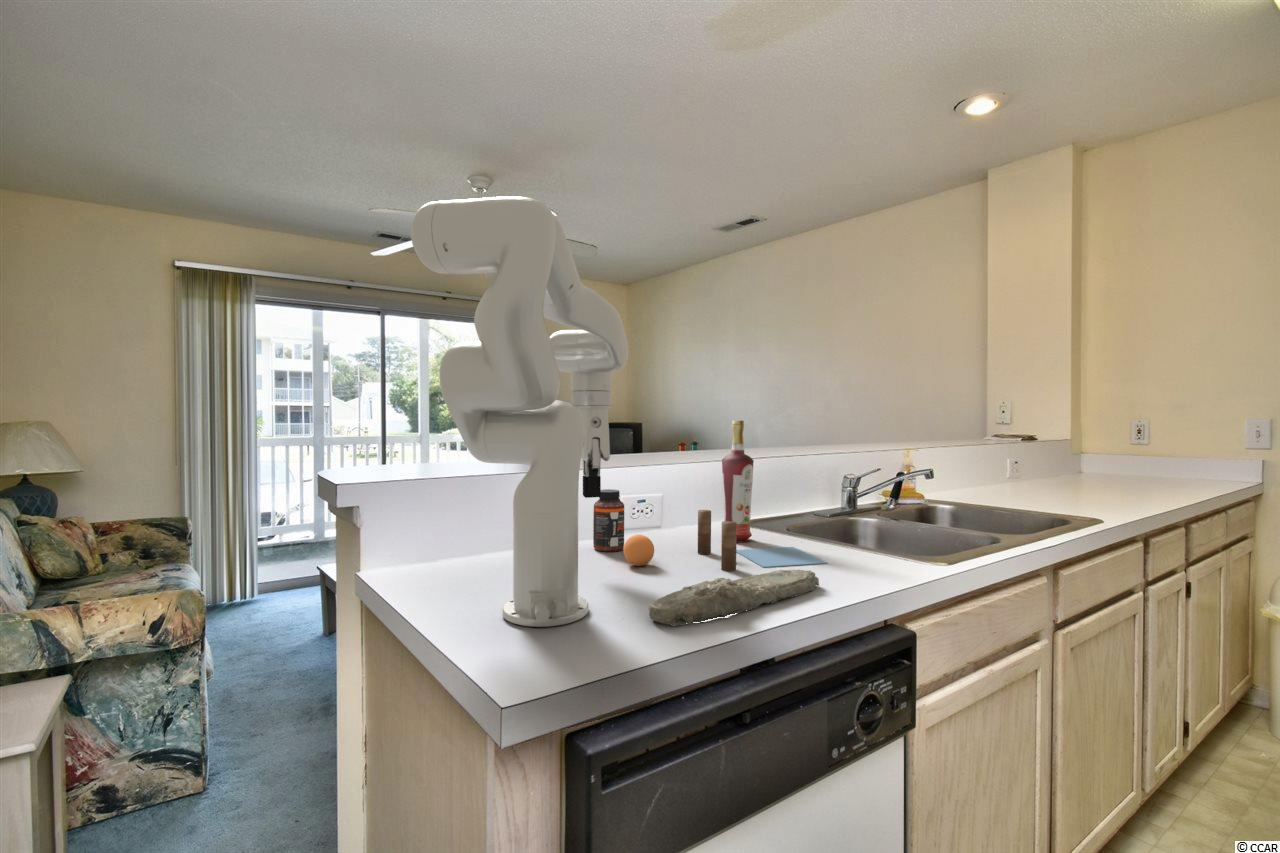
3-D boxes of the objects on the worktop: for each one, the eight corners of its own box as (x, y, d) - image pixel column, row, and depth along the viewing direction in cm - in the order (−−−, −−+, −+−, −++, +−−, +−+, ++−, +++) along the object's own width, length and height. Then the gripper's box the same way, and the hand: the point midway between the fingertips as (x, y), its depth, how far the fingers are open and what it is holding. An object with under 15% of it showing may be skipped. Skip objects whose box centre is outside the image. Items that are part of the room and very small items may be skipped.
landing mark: (827, 563, 117) (827, 562, 117) (763, 567, 114) (763, 566, 114) (792, 547, 131) (792, 546, 131) (734, 551, 127) (734, 550, 127)
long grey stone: (834, 600, 100) (787, 589, 107) (834, 568, 100) (787, 559, 108) (678, 635, 78) (633, 618, 86) (678, 595, 79) (634, 582, 87)
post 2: (738, 570, 111) (738, 523, 111) (724, 571, 111) (725, 524, 110) (732, 567, 114) (733, 520, 114) (719, 568, 113) (719, 521, 113)
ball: (657, 568, 113) (658, 537, 112) (627, 570, 111) (627, 538, 111) (649, 560, 118) (649, 531, 118) (620, 562, 117) (620, 532, 117)
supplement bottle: (623, 552, 125) (623, 492, 125) (591, 552, 125) (591, 492, 125) (625, 545, 132) (625, 488, 132) (594, 545, 132) (595, 488, 132)
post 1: (712, 554, 124) (713, 511, 124) (700, 555, 123) (700, 512, 123) (708, 551, 127) (708, 509, 127) (695, 551, 126) (696, 510, 126)
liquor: (738, 545, 133) (739, 421, 132) (714, 539, 139) (715, 420, 138) (759, 540, 138) (760, 420, 137) (735, 535, 143) (736, 420, 143)
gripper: (618, 401, 105) (619, 502, 106) (603, 400, 120) (603, 490, 121) (577, 401, 104) (577, 504, 105) (566, 400, 118) (567, 491, 119)
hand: (591, 496), depth 113 cm, fingers closed
